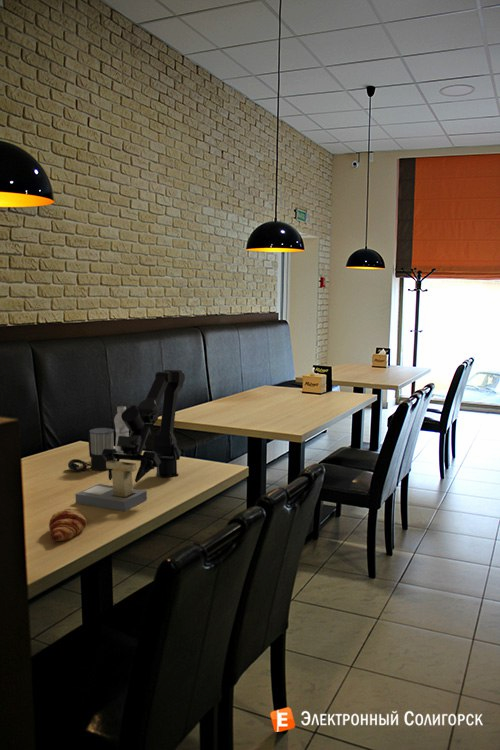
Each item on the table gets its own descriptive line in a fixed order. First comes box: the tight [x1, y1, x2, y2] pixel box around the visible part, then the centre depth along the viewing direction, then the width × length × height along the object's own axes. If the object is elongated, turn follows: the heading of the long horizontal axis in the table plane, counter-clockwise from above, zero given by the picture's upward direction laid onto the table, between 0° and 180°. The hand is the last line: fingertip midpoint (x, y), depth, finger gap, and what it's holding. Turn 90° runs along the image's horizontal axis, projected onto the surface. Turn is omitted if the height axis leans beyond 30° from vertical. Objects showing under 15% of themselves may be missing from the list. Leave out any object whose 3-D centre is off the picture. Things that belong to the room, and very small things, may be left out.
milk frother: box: [67, 427, 115, 472], centre depth 246 cm, size 14×16×15 cm
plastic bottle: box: [113, 405, 130, 453], centre depth 268 cm, size 6×7×20 cm
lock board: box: [75, 483, 148, 512], centre depth 208 cm, size 19×12×3 cm, turn 65°
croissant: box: [48, 508, 87, 542], centre depth 182 cm, size 21×10×8 cm, turn 0°
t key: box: [106, 460, 138, 498], centre depth 205 cm, size 4×10×14 cm, turn 66°
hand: (122, 480), depth 205 cm, fingers open, 9 cm apart
